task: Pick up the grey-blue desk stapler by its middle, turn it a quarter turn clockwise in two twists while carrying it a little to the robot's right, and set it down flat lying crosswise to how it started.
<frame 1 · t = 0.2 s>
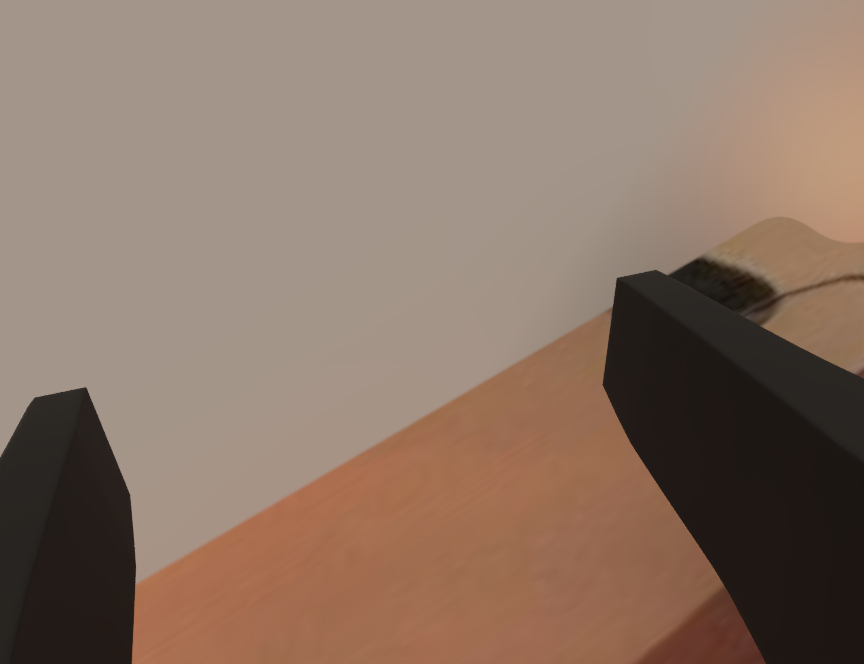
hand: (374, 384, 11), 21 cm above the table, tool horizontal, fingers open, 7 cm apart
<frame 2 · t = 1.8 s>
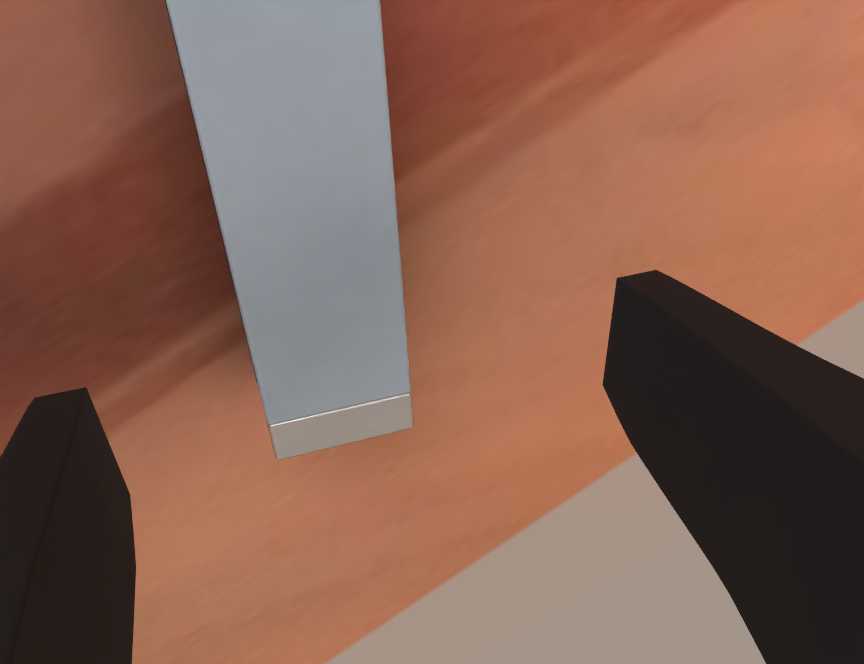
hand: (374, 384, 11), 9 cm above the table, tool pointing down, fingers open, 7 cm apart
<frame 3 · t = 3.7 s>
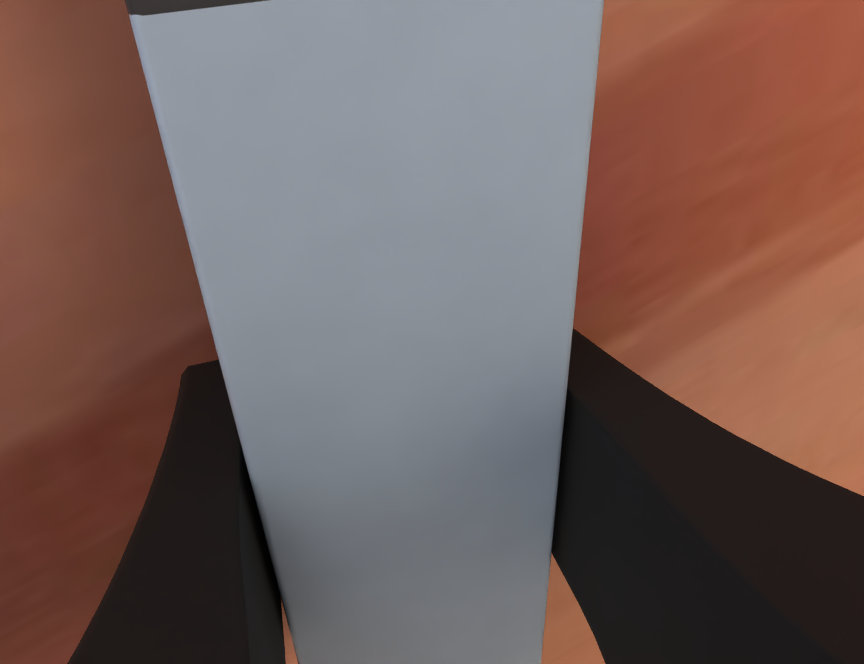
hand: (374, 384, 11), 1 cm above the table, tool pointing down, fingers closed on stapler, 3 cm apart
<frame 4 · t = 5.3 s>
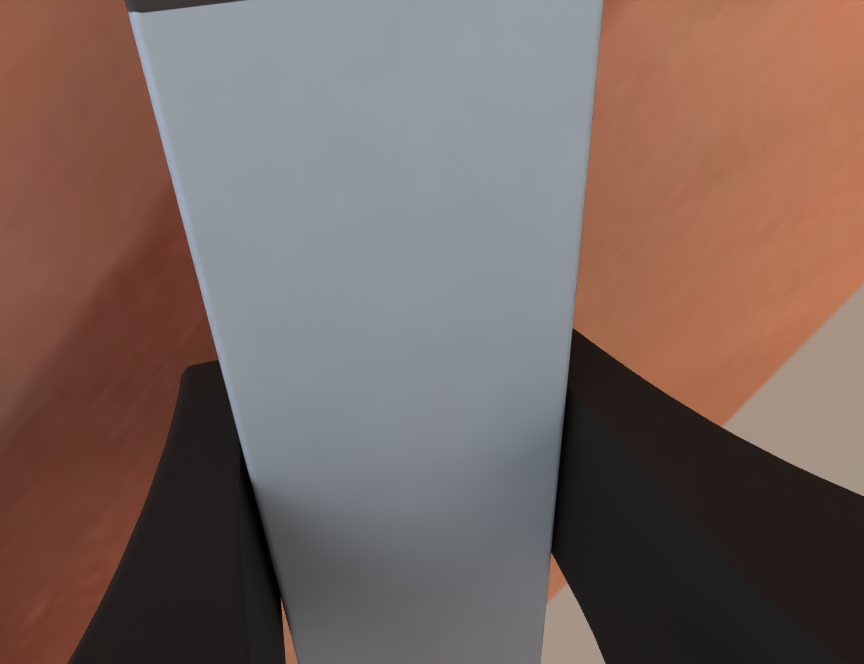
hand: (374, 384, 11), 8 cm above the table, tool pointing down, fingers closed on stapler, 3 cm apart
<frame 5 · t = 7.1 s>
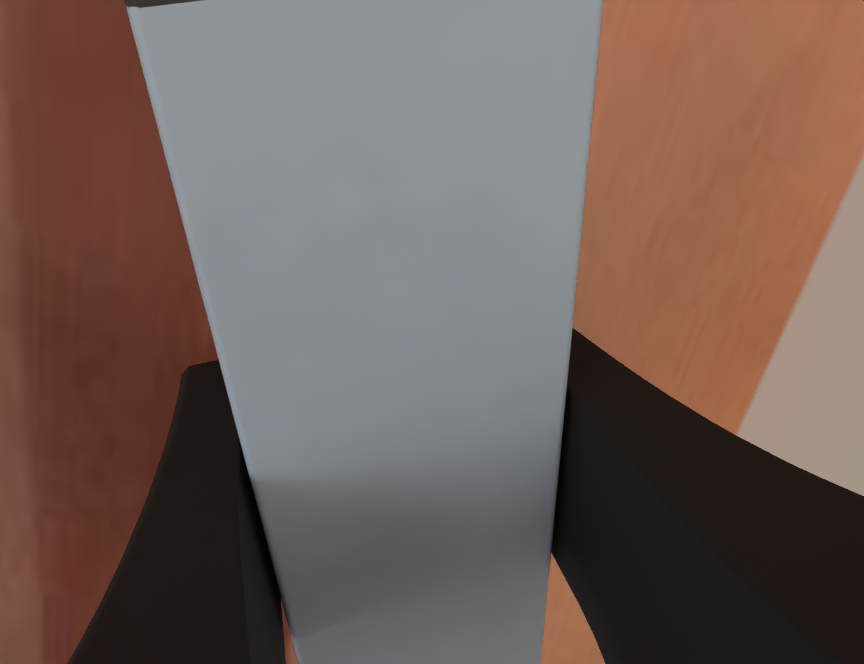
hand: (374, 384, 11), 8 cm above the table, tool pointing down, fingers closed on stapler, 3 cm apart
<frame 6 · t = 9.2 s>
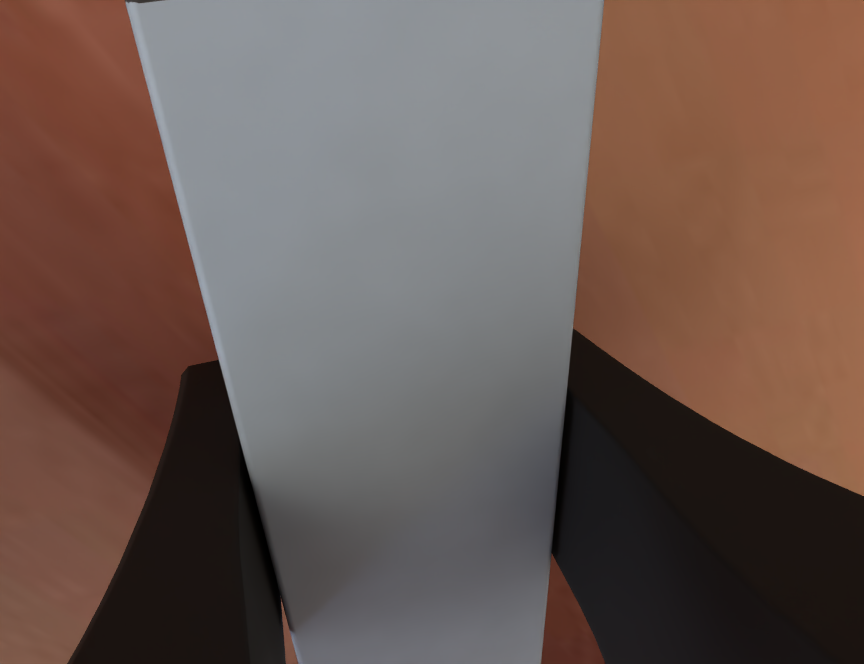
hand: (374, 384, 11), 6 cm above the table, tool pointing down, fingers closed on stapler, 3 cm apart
when the fingers open (1 cm above the table, at t = 10.7 s): stapler stays where it is, on the table.
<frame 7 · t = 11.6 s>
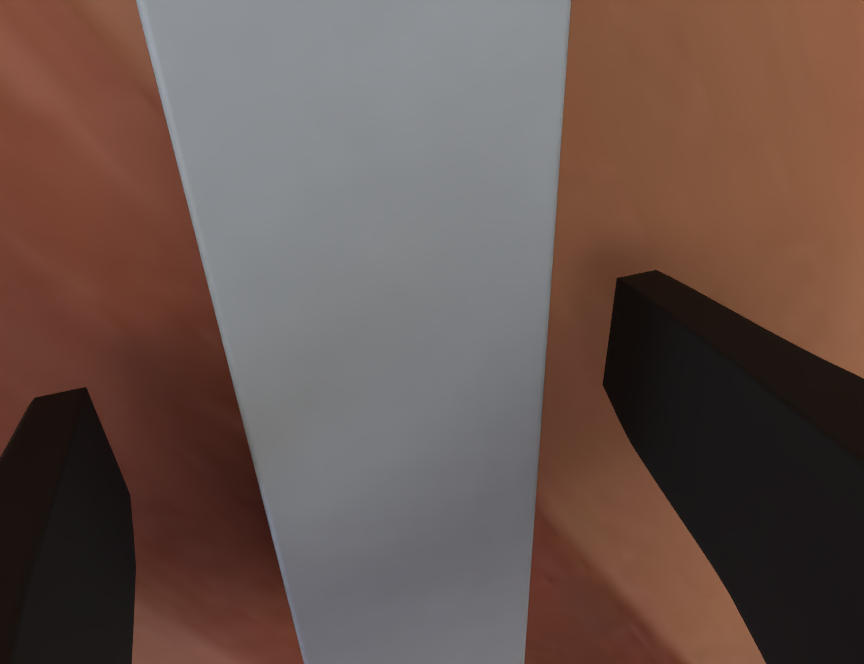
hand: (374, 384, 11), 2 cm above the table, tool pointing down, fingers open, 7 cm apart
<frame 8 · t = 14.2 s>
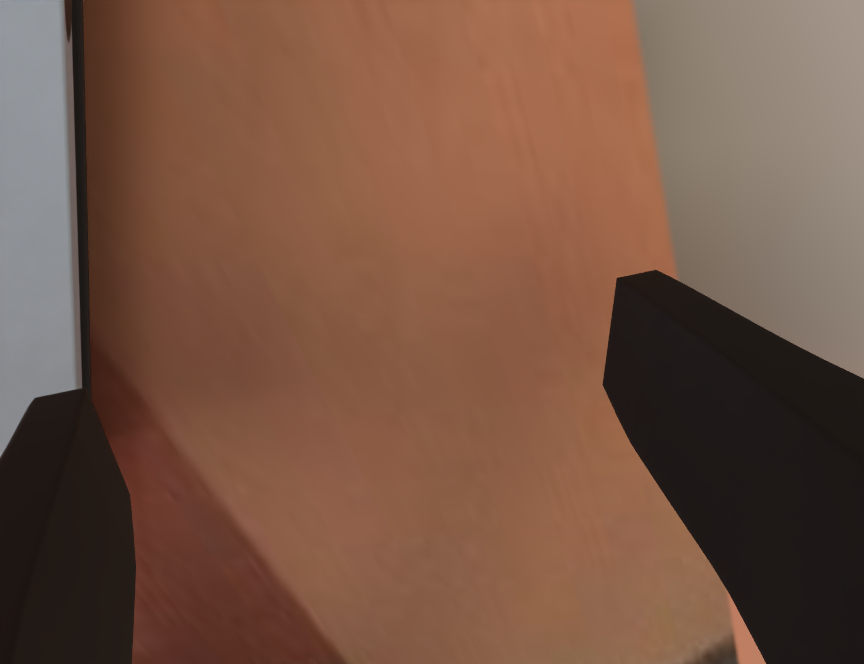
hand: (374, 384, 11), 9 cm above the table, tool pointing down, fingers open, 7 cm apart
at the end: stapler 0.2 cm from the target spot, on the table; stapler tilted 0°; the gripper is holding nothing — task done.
